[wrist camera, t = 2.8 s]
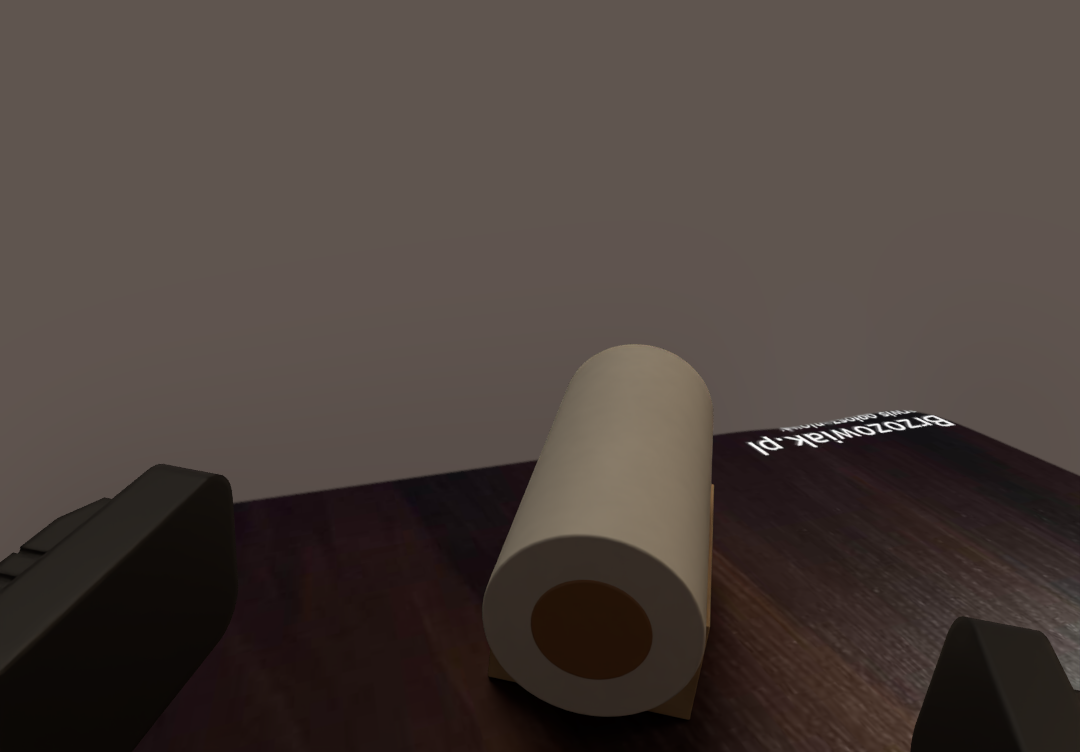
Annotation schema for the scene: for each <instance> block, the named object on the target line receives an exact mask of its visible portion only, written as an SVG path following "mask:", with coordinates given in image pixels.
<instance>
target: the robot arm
mask: <svg viewBox="0 0 1080 752" xmlns="http://www.w3.org/2000/svg"><path fill="white" fill-rule="evenodd" d="M237 593H238V576H237V560H236V544H235V528H234V512H233V497H232V490H231V486H230V483H229V481H228V480H227V479H226V478H225V477H224V476H223V475H218V474H213V473H208V472H203V471H197V470H192V469H186V468H181V467H176V466H171V465H165V464H158V465H155V466H153V467H151V468H150V469H149V470H147V471H146V472H145V473H143V474H142V475H141V476H140V477H138V478H137V479H136V480H135V481H134V482H132V483H131V484H130V485H129V486H127V487H126V488H125V489H124V490H122V491H121V492H120V493H119V494H118V495H116V496H115V497H114V498H113V499H109V498H102V499H100V500H98V501H96V502H93V503H91V504H89V505H87V506H84V507H82V508H80V509H77V510H75V511H73V512H71V513H68V514H66V515H64V516H61V517H59V518H57V519H56V520H54V521H53V522H52V523H51V524H49V525H48V526H47V527H45V528H44V529H43V530H41V531H40V532H39V533H38V534H36V535H35V536H34V537H32V538H31V539H30V540H29V541H27V542H26V543H25V544H23V545H22V546H21V547H20V552H19V553H18V554H17V553H12V554H11V555H9V556H8V557H7V558H5V559H4V560H3V561H1V562H0V752H132V751H133V750H134V748H135V747H136V746H137V744H138V743H139V742H140V741H141V739H142V738H143V737H144V736H145V734H146V733H147V732H148V731H149V729H150V728H151V727H152V725H153V724H154V723H155V722H156V720H157V719H158V718H159V717H160V715H161V714H162V713H163V712H164V710H165V709H166V708H167V707H168V705H169V704H170V703H171V701H172V700H173V699H174V698H175V696H176V695H177V694H178V693H179V691H180V690H181V689H182V688H183V686H184V685H185V684H186V682H187V681H188V680H189V679H190V677H191V676H192V675H193V674H194V672H195V671H196V670H197V669H198V667H199V666H200V665H201V664H202V662H203V661H204V660H205V658H206V657H207V656H208V655H209V653H210V652H211V651H212V650H213V648H214V647H215V646H216V645H217V643H218V642H219V641H220V639H221V638H222V636H223V635H224V633H225V631H226V629H227V627H228V625H229V623H230V620H231V618H232V615H233V612H234V609H235V604H236V600H237ZM911 752H1080V691H1078V690H1073V688H1072V686H1071V684H1070V682H1069V680H1068V678H1067V676H1066V674H1065V672H1064V670H1063V668H1062V666H1061V664H1060V662H1059V660H1058V658H1057V656H1056V654H1055V652H1054V650H1053V648H1052V646H1051V644H1050V642H1049V640H1048V639H1047V637H1046V636H1045V635H1044V634H1043V633H1042V632H1040V631H1037V630H1032V629H1027V628H1021V627H1016V626H1011V625H1005V624H1000V623H995V622H989V621H984V620H979V619H974V618H968V617H963V616H962V617H959V618H957V619H956V620H955V621H954V622H953V624H952V626H951V627H950V629H949V632H948V634H947V637H946V640H945V642H944V645H943V648H942V651H941V654H940V657H939V660H938V662H937V665H936V668H935V671H934V674H933V677H932V680H931V682H930V685H929V688H928V691H927V694H926V697H925V699H924V702H923V705H922V708H921V711H920V714H919V717H918V719H917V722H916V725H915V729H914V733H913V737H912V743H911Z"/></svg>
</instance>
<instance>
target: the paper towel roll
mask: <svg viewBox="0 0 1080 752" xmlns="http://www.w3.org/2000/svg"><path fill="white" fill-rule="evenodd" d="M712 444H713V405H712V400H711V397H710V394H709V391H708V389H707V387H706V385H705V383H704V381H703V380H702V378H701V377H700V375H699V374H698V373H697V372H696V371H695V370H694V368H693V367H692V366H690V365H689V364H688V363H687V362H686V361H684V360H683V359H681V358H680V357H678V356H677V355H675V354H673V353H671V352H669V351H666V350H664V349H661V348H658V347H654V346H649V345H640V344H630V345H621V346H616V347H613V348H609V349H607V350H604V351H602V352H600V353H598V354H596V355H595V356H593V357H591V358H590V359H589V360H587V361H586V362H585V363H584V364H583V365H582V366H581V367H580V368H579V369H578V370H577V372H576V373H575V374H574V376H573V377H572V379H571V381H570V383H569V385H568V388H567V390H566V392H565V395H564V398H563V400H562V403H561V405H560V407H559V410H558V412H557V415H556V417H555V420H554V422H553V425H552V427H551V430H550V432H549V434H548V437H547V439H546V442H545V444H544V447H543V450H542V452H541V454H540V457H539V459H538V462H537V464H536V467H535V469H534V471H533V474H532V476H531V479H530V481H529V484H528V486H527V489H526V491H525V494H524V496H523V499H522V501H521V504H520V506H519V509H518V511H517V513H516V516H515V518H514V521H513V523H512V526H511V528H510V531H509V533H508V536H507V538H506V541H505V543H504V546H503V548H502V551H501V553H500V555H499V558H498V560H497V563H496V565H495V568H494V570H493V573H492V575H491V578H490V580H489V583H488V585H487V588H486V591H485V594H484V600H483V606H482V618H483V625H484V631H485V634H486V637H487V641H488V643H489V646H490V648H491V650H492V652H493V654H494V656H495V657H496V659H497V660H498V662H499V663H500V665H501V666H502V667H503V668H504V670H505V671H506V672H507V673H508V674H509V675H510V676H511V677H512V678H513V679H514V680H515V681H516V682H517V683H518V684H519V685H520V686H522V687H523V688H524V689H526V690H527V691H528V692H530V693H531V694H533V695H534V696H536V697H538V698H539V699H541V700H543V701H545V702H547V703H549V704H551V705H554V706H556V707H559V708H562V709H564V710H567V711H571V712H575V713H579V714H584V715H590V716H602V717H613V716H625V715H632V714H636V713H640V712H644V711H647V710H650V709H652V708H655V707H657V706H659V705H661V704H663V703H665V702H667V701H668V700H670V699H671V698H673V697H674V696H675V695H677V694H678V693H679V692H680V691H681V690H682V689H683V688H684V687H685V686H686V685H687V684H688V683H689V681H690V680H691V679H692V677H693V676H694V675H695V673H696V671H697V669H698V667H699V665H700V663H701V660H702V657H703V654H704V649H705V641H706V616H707V587H708V559H709V530H710V501H711V473H712Z"/></svg>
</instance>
